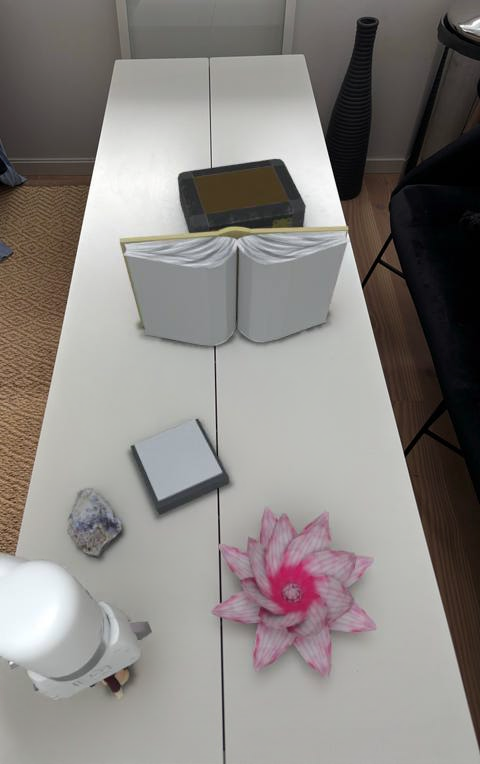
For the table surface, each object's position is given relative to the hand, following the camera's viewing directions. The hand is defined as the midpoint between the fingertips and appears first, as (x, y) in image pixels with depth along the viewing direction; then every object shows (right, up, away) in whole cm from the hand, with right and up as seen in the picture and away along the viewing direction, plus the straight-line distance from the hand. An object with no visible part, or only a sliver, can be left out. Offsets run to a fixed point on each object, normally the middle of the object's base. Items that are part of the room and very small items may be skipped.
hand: (106, 664), depth 66 cm
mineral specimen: (-6, +12, +18) cm, 23 cm away
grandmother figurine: (0, -5, +6) cm, 8 cm away
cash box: (+16, +72, +60) cm, 95 cm away
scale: (+6, +20, +24) cm, 31 cm away
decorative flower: (+23, +3, +12) cm, 26 cm away
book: (+16, +44, +41) cm, 62 cm away
